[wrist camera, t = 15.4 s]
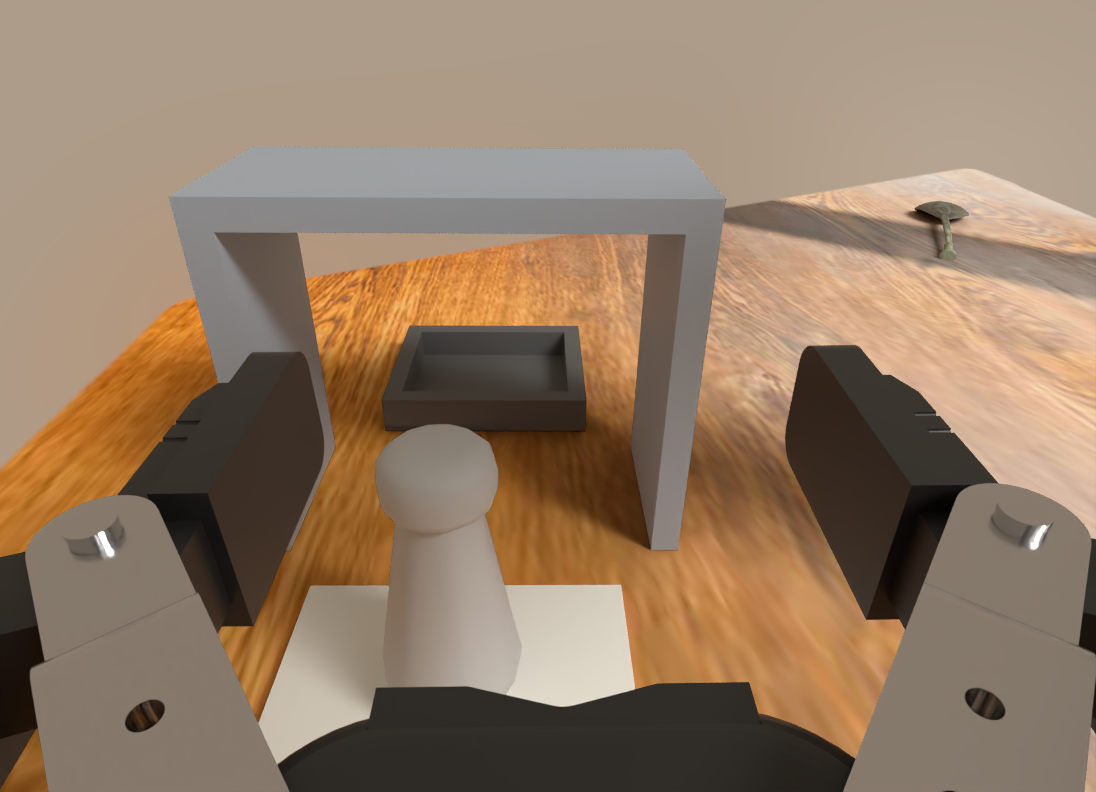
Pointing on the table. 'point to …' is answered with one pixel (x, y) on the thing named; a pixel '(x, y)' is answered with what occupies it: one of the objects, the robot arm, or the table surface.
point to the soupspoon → (944, 222)
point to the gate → (466, 207)
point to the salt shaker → (444, 564)
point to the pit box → (488, 379)
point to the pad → (358, 667)
